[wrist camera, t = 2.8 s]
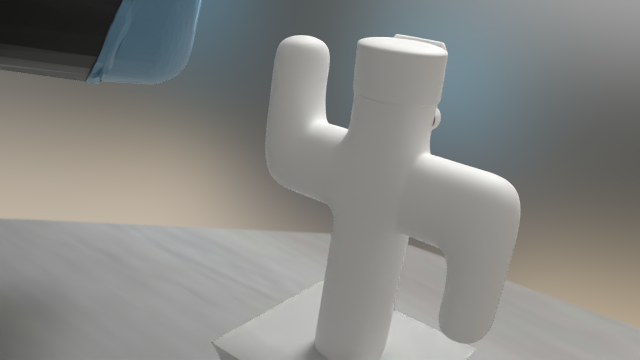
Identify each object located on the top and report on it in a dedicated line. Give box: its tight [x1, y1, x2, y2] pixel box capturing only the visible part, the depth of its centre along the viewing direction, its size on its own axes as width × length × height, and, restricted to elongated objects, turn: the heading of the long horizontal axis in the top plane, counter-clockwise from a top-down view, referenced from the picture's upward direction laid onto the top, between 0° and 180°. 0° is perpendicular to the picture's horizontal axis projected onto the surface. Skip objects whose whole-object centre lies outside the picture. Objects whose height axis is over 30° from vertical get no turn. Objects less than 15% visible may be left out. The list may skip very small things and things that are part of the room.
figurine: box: [212, 34, 520, 360], centre depth 20 cm, size 7×9×15 cm
